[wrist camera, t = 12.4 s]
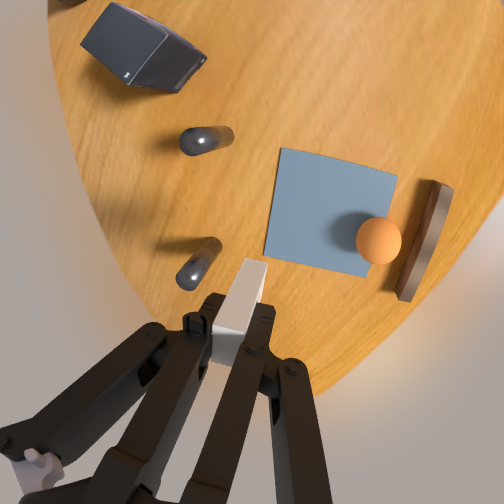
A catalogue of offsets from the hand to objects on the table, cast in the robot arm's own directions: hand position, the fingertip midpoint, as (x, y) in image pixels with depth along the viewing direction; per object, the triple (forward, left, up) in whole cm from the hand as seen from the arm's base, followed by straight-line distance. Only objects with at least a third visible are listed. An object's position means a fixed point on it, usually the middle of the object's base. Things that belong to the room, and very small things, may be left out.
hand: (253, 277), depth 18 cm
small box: (-18, -17, -17) cm, 30 cm away
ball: (+1, +12, -14) cm, 18 cm away
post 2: (+7, -8, -16) cm, 20 cm away
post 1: (-7, -8, -16) cm, 20 cm away
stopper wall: (0, +19, -16) cm, 25 cm away
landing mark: (0, +6, -16) cm, 17 cm away
